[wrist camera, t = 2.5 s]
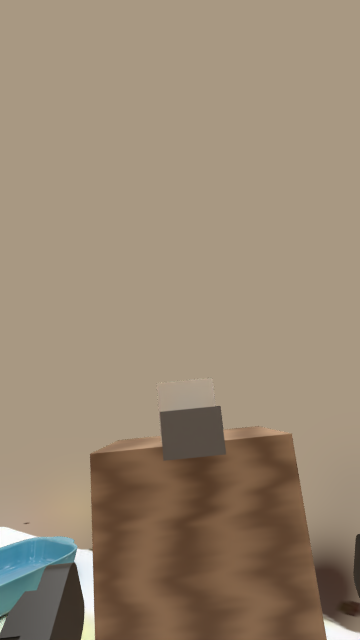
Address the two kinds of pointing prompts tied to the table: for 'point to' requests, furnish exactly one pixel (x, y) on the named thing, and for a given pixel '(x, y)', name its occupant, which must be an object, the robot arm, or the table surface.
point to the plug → (189, 419)
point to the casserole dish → (29, 565)
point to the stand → (202, 542)
